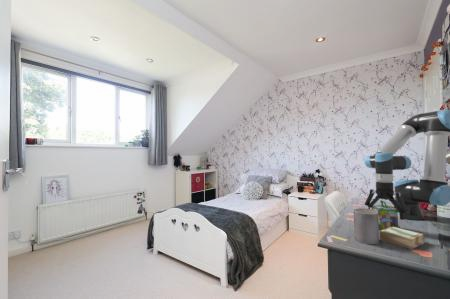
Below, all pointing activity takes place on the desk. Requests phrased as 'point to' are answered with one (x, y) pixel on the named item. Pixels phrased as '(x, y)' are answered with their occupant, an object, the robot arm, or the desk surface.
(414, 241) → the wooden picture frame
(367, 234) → the pillar candle
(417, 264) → the desk surface
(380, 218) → the chalk box
